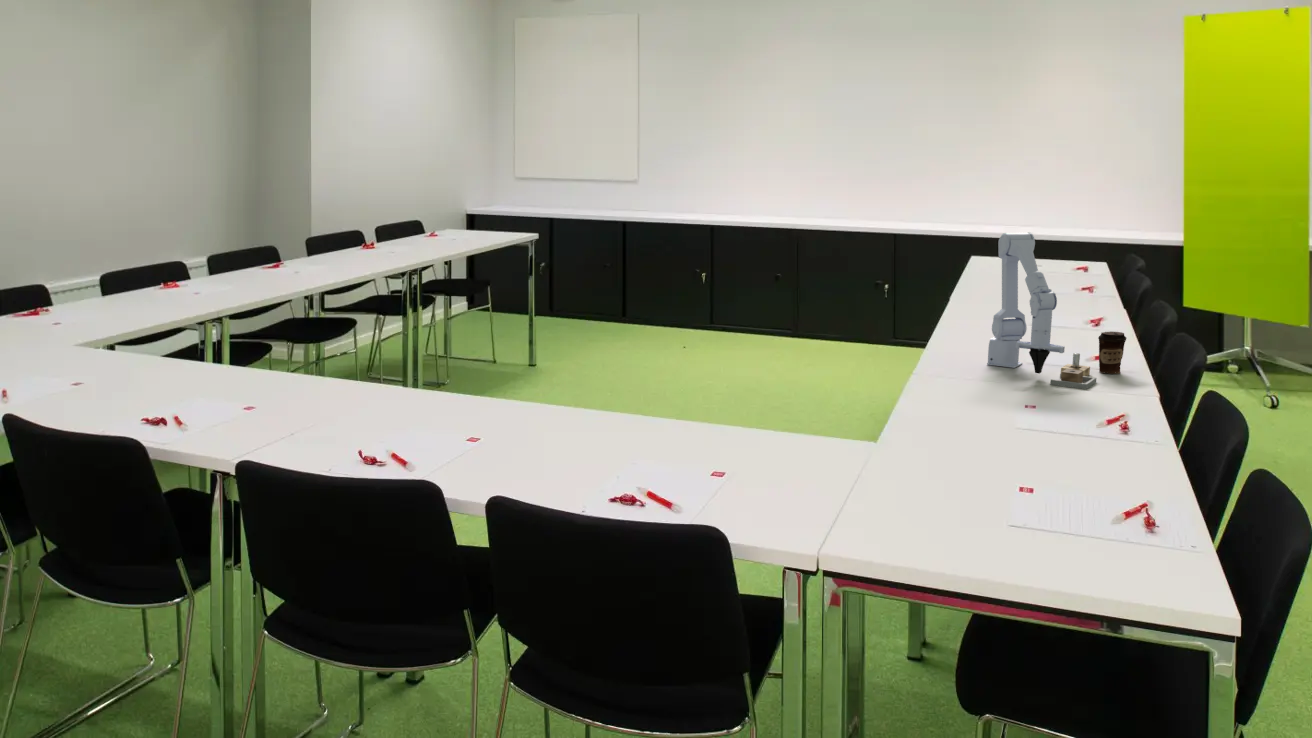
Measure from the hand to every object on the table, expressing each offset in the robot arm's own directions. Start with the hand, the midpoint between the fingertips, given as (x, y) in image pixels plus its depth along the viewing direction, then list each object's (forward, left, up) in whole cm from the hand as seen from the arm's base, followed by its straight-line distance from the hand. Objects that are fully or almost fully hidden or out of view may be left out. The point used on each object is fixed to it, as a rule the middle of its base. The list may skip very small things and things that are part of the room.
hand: (1038, 372), depth 344 cm
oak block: (+8, +11, -2) cm, 14 cm away
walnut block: (+11, -1, -2) cm, 11 cm away
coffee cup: (+16, +21, -2) cm, 27 cm away
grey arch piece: (+10, -1, -2) cm, 10 cm away
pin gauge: (+8, +11, -2) cm, 14 cm away
